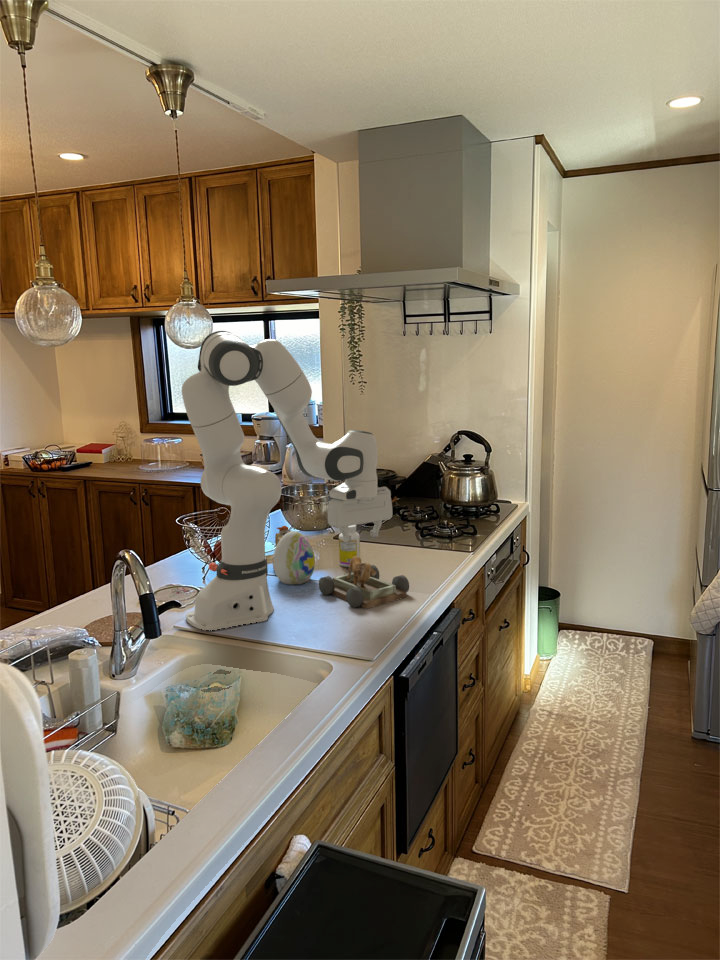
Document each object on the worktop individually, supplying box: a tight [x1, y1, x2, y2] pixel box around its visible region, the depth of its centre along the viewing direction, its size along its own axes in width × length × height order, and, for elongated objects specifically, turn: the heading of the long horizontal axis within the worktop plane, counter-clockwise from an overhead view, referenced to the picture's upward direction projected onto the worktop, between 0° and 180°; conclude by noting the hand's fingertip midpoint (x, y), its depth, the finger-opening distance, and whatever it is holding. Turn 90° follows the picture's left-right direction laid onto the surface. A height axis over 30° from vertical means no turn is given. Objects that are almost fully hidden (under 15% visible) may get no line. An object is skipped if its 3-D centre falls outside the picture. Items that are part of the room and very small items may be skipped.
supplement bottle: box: [338, 525, 361, 568], centre depth 228 cm, size 7×7×13 cm
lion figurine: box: [346, 556, 377, 589], centre depth 201 cm, size 15×5×9 cm, turn 23°
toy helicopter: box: [272, 525, 292, 572], centre depth 230 cm, size 8×21×14 cm, turn 16°
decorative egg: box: [272, 530, 316, 585], centre depth 213 cm, size 12×12×15 cm
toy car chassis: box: [318, 564, 410, 610], centre depth 201 cm, size 18×20×5 cm
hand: (360, 539), depth 198 cm, fingers open, 8 cm apart
